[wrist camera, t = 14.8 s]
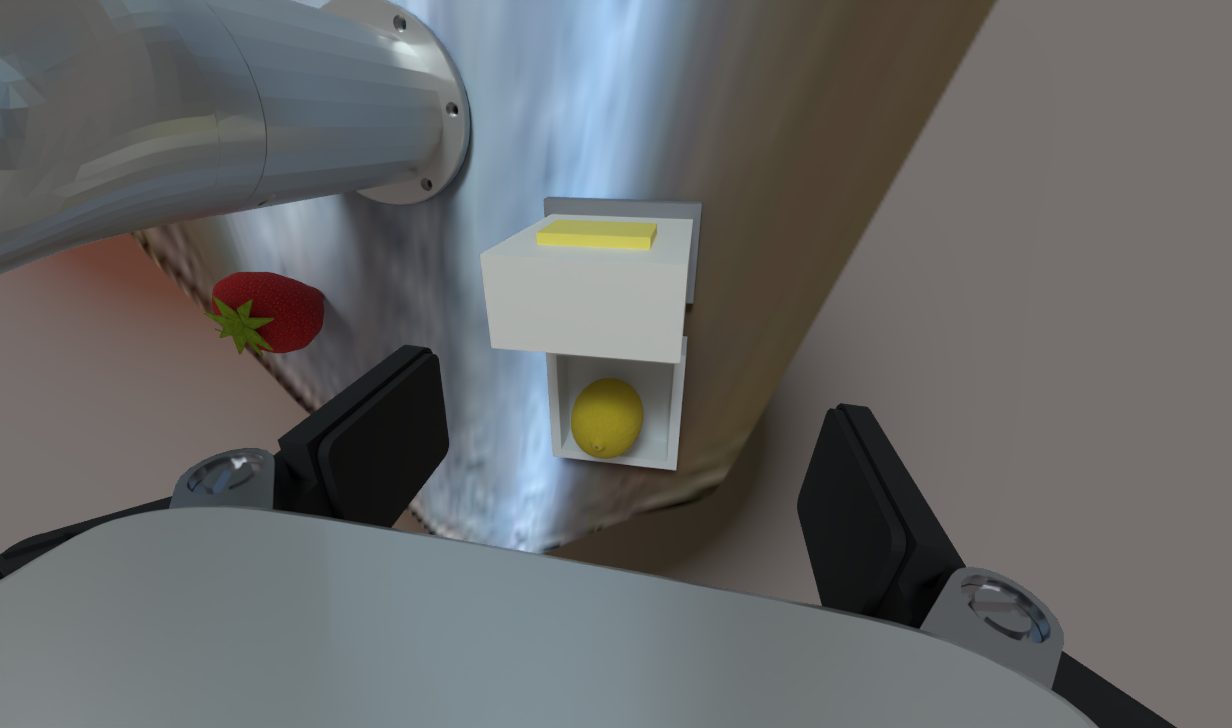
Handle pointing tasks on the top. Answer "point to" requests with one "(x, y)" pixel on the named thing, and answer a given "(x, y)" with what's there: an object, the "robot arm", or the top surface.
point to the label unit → (596, 279)
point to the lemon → (606, 418)
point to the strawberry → (267, 311)
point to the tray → (651, 383)
